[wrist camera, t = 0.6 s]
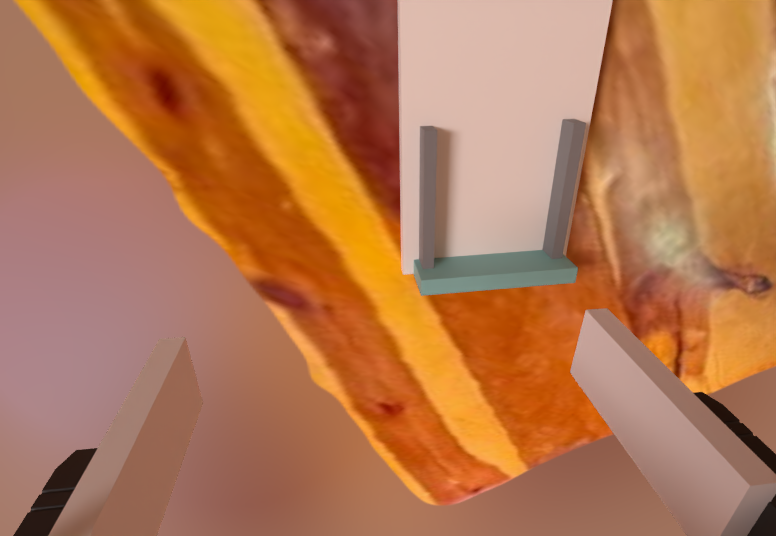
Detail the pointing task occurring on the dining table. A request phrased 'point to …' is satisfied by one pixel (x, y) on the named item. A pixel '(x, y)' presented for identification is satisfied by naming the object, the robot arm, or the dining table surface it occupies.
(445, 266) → the board
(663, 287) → the dining table surface
